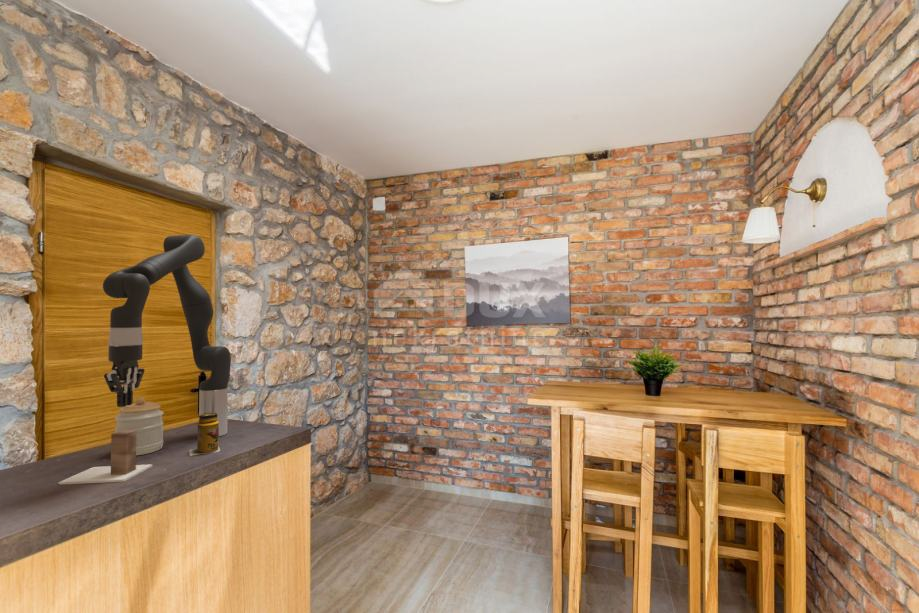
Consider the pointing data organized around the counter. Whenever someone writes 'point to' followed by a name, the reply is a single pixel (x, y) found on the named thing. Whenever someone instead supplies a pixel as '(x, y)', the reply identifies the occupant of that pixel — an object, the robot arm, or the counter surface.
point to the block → (123, 452)
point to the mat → (102, 475)
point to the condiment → (207, 435)
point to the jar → (142, 424)
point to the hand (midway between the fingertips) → (124, 405)
